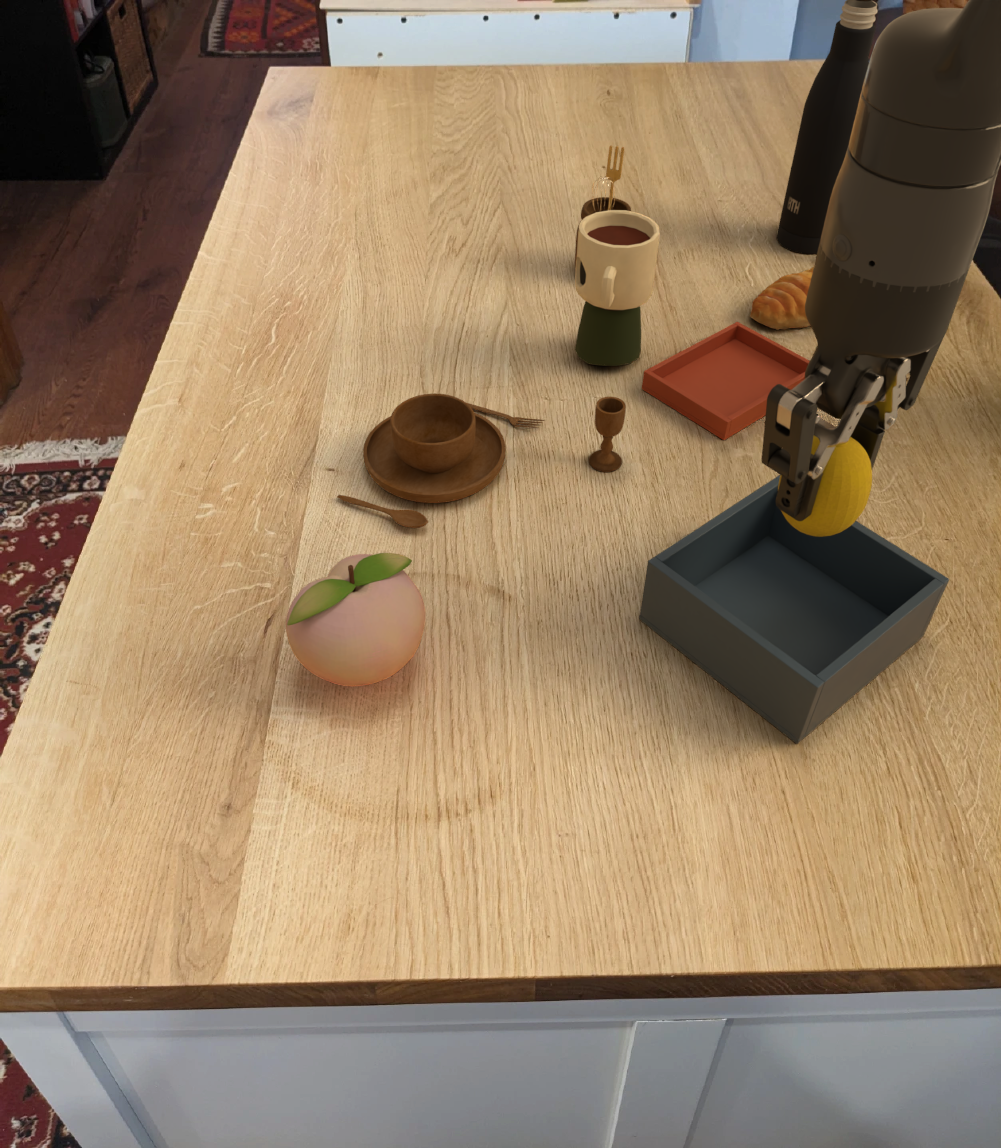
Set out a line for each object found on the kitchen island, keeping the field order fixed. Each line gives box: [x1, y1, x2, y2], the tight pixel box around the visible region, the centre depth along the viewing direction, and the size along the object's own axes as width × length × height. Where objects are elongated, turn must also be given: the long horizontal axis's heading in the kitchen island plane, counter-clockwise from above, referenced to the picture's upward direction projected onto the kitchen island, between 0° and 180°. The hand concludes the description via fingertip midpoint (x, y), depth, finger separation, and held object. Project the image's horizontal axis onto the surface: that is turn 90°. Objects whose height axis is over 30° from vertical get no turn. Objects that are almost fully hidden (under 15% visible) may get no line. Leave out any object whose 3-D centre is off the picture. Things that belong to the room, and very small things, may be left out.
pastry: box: [749, 266, 814, 331], centre depth 102 cm, size 9×7×4 cm
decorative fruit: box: [285, 552, 426, 687], centre depth 67 cm, size 9×8×10 cm
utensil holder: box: [574, 145, 632, 269], centre depth 105 cm, size 6×6×12 cm
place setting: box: [336, 393, 627, 529], centre depth 83 cm, size 18×20×6 cm
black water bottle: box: [776, 0, 878, 255], centre depth 103 cm, size 6×6×30 cm
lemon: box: [778, 436, 873, 537], centre depth 64 cm, size 6×6×8 cm
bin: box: [638, 474, 950, 745], centre depth 71 cm, size 14×14×6 cm
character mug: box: [574, 210, 660, 367], centre depth 93 cm, size 11×7×13 cm, turn 166°
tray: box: [641, 321, 810, 441], centre depth 94 cm, size 13×10×2 cm
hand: (823, 490), depth 64 cm, fingers closed on lemon, 5 cm apart
